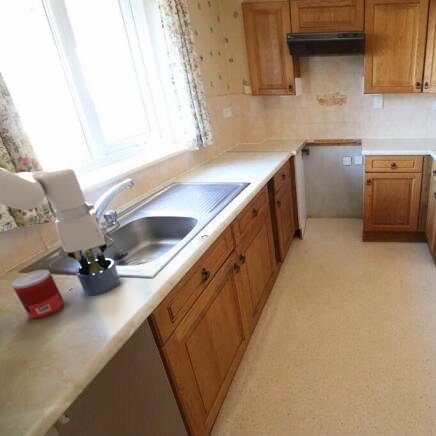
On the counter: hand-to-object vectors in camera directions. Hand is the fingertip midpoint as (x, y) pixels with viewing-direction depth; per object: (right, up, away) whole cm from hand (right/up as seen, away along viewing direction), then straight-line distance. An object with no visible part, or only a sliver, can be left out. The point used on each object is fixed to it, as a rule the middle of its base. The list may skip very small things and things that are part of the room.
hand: (95, 266), depth 98 cm
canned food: (-9, -11, -6) cm, 16 cm away
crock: (0, -6, +3) cm, 7 cm away
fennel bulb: (0, -6, +3) cm, 7 cm away
